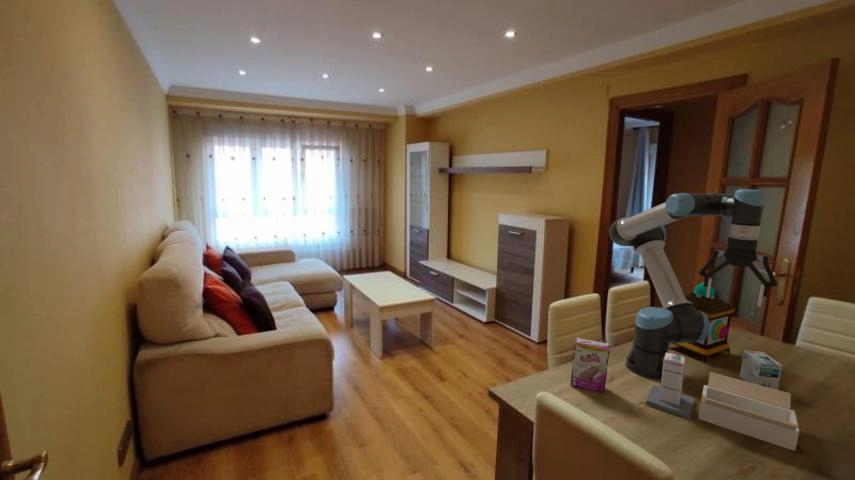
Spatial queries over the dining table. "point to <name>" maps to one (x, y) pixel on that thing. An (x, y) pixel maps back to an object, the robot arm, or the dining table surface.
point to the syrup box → (672, 378)
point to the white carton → (750, 410)
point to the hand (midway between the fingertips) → (732, 301)
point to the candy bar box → (590, 364)
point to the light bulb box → (760, 369)
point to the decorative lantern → (718, 320)
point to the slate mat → (680, 410)
